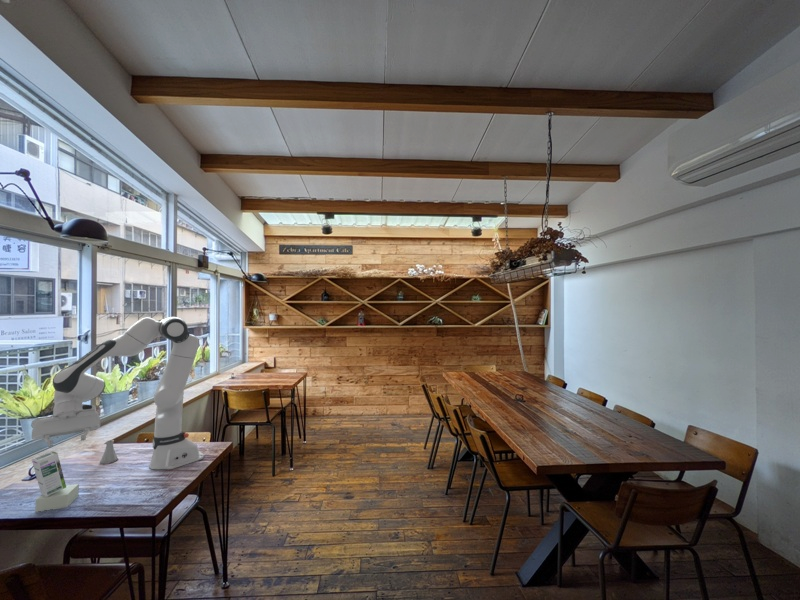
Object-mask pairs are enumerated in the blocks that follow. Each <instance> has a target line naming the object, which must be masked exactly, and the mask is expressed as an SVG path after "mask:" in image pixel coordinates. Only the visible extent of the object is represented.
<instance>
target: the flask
mask: <svg viewBox="0 0 800 600" xmlns="http://www.w3.org/2000/svg"><path fill="white" fill-rule="evenodd" d="M114 442H115V440H114V439H110V440H106V441H105V444H106V445H105V449H104V452H103V454H102V456H101V458H100V461H99V464H100V465H105V464H107V465H108V464H111V463H115V462H117V461H118V460H119V458H118V455H117V453H116V451H115V447H114ZM116 460H117V461H116Z"/></svg>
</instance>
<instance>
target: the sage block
mask: <svg viewBox="0 0 800 600" xmlns="http://www.w3.org/2000/svg"><path fill="white" fill-rule="evenodd" d="M79 490H80V483H76V484H75V483H74V484H69V485H66V488H64V489H62V490H60V491H58V492H56V493H54V494H51V495H49V496H48V497H46V496H44V495H42V494H40V496H38V497H37V498H35V510H34V511H35V513H39V512H38V511H41V512H45V511H44V510H47V511H51V510H50V509H53V510H57V509H59V510H60V509H65V508H68V507H69V506H70V505H71V504H72V503H73V502H74V501H75V500H76V499H77V498H79V494H80V491H79Z"/></svg>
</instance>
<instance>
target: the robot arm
mask: <svg viewBox="0 0 800 600" xmlns="http://www.w3.org/2000/svg"><path fill="white" fill-rule="evenodd" d="M159 337H162V338H165V339H167V340H169V341H171V342H172V344H173V345H172V349H171V351H170V354H169V356H168V359H167V362H166V365H165V368H164V370H163V372H162V375H161V377H160V380H159V381H158V385H157V387H156V390H155V391H154V396H153V402H154V404H155V405H156V411H155V416H154V417H155V418H154V436H152V437H153V439H152V449H153V450H152V455H151V460H150V462H149V466H148V467H149V469H152V470H173V469H176V468H179V467H180V468H181V467H182V466H186V465H188V464H189V465H190V464H191V463H195V462H198V461H201V460H203V459H204V453H203V451H200V450H199V447H198V445H197V444H196V442H194V441H192V440H190V439H189V433H188V432H186V431H183V430H182V424H183V409H184V408H183V407H184V406H183V405H184V391H185V388H186V385H187V382H188V380H189V377H190V374H191V371H192V368H193V365H194V362H195V360H196V357H197V352H198V348H199V343H200V342H199V338H198V337H197V336H196V335H194V334H191V333H190V332H189V328H188V324H187V323H186V321H184V320H183V319H182V318H180V317H177V316H169V317H165V318H162V319H159V320H156V319H154V318H152V317H143V318H140V319H139V320H137V321H136V322H135V323H134V324H132V325H131V326H130V327H129V328H127V329H126V330H125V331H124V333H122V334H120V335H118V336H117V337H115V338H113V339H107V340H104V341H103V342H101V343H100V344H98V345H97V346H95V347H94V348H92V349H91V350H90V351H88V352H87V353H85V355H83V356H81V357H80V358H79V359H77V360H76V361H74V362H73V363H72V364H70V365H69V366H67V367H64V368H63V369H61V370H60V371H58V372H57V373H56V374H55V375H54V376H53V378H52V386H53V388H54V394H53V403H54V407H53V410H52V415H47V416H40V417H37V418H35V419H33V420H32V421H31V422H30V423H31V424H30V426H31V428H32V429H31V436H30V437H31V439H32V440H33V441H38V440H43V441H44V442H45V443H46V444H47V448H52V447H54V440H53V439H52V440H50V439H51V438H57V437H62V436H68V435H72V434H73V435H74V434H78V433H83V432H84V434H81V435H80V442H83V441H86V438H87V436H88V435H89V433H90V431H94V430H98V429H99V428H100V427H101V419H100V418H101V417H100V413H99V412H98V411H97V409H96V407H97V406H96V405H94V404H84V403H87V402H89V401H91V400H93V399H96V398H97V397H100V396H101V395H102V394H103V393H104V390H105V388H106V382H105V379H103V378H101V377H99V376H97V375H94V374H90V373H88V372H87V371H88V370H90V369H91V368H92V367H93V366H95V365H96V364H97V363H99V362H101V360H103V359H105V358H109V357H124V358H126V357H133V356H137V355H139V354H141V353H142V352H143V351H144V350H145V349H146V348H147V347H148V346H149V345H151V343H152V342H153V341H154V340H155V339H156V338H159Z"/></svg>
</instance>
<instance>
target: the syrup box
mask: <svg viewBox="0 0 800 600" xmlns="http://www.w3.org/2000/svg"><path fill="white" fill-rule="evenodd" d="M31 461H32V465H33V469H34V473H35V476H36V480H37V485H38V488H39V490H40V491H39V492H40V495H44V496H46V497H48V496H49V495H51V494H54V493H56V492H58V491H60V490H62V489H64V488H66V486H67V485H66V480H65V477H64V474H63V470H62V466H61V462H60V457H59V454H58V452H56V451H54V450H50V451H48V452H46V453H44V454H41V455H39V456H36V457H33V458H32V459H31Z"/></svg>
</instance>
